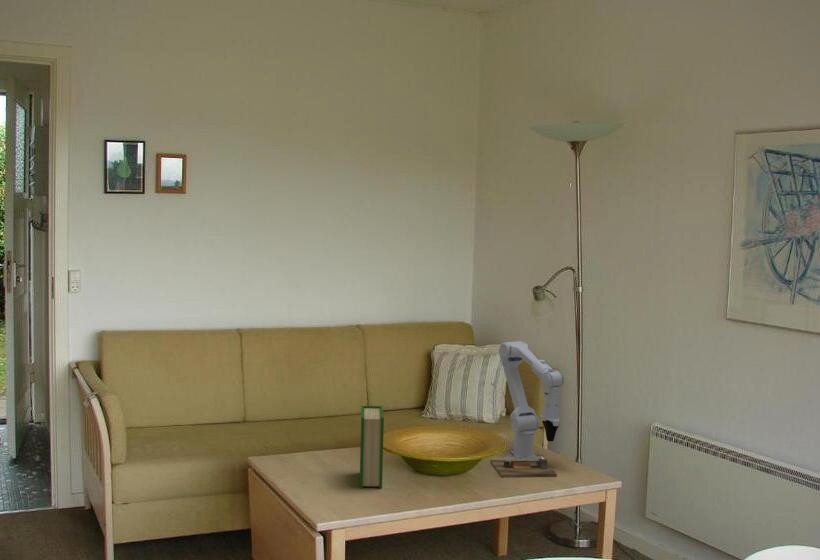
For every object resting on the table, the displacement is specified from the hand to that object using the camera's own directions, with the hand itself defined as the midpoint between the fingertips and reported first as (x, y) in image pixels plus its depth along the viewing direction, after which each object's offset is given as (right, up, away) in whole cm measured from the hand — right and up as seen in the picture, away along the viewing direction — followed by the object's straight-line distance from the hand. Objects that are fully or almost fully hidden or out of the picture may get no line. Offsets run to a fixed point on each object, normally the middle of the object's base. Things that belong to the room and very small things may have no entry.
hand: (550, 440), depth 329 cm
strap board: (-11, -10, -5) cm, 15 cm away
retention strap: (-10, -6, -5) cm, 13 cm away
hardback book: (-65, -10, -22) cm, 69 cm away
